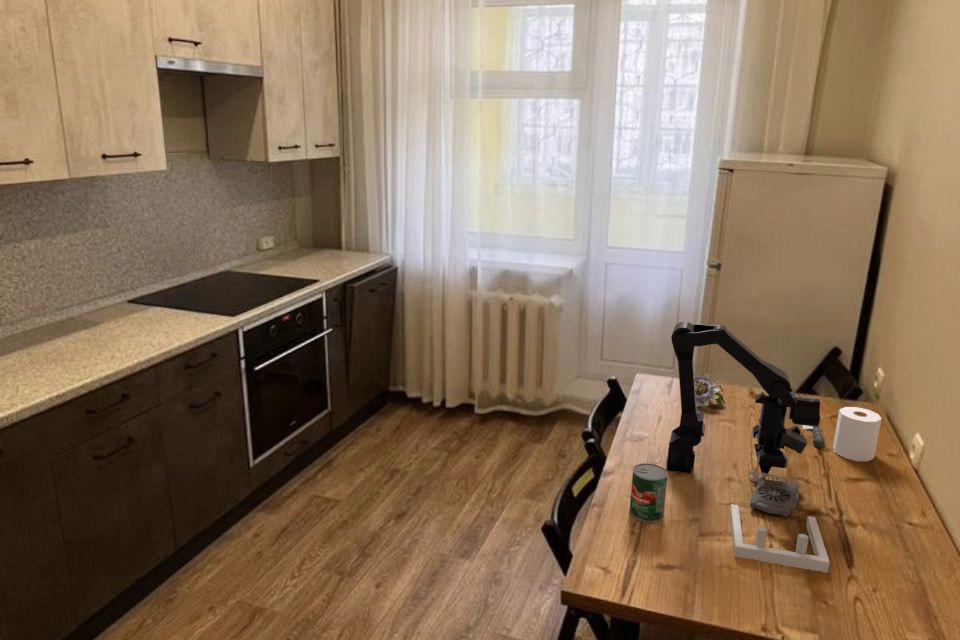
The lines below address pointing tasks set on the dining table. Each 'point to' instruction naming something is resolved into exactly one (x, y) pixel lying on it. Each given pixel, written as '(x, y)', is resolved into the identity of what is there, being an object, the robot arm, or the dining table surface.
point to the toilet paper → (856, 433)
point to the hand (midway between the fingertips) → (764, 475)
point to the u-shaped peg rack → (781, 556)
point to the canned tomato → (648, 492)
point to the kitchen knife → (816, 436)
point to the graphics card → (774, 494)
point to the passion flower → (707, 391)
